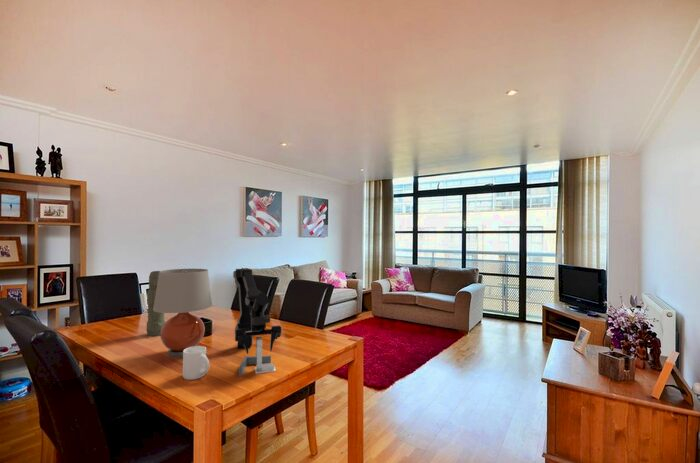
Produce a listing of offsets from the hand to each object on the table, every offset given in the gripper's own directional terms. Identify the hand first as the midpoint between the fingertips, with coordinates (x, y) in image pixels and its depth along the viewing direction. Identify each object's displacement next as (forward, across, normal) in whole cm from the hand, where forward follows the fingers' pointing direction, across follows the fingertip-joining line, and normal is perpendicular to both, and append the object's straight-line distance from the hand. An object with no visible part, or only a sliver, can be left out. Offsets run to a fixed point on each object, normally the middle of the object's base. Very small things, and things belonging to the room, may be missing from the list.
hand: (259, 352), depth 134 cm
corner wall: (+3, -1, +8) cm, 9 cm away
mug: (+4, -23, +8) cm, 25 cm away
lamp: (-18, -32, +30) cm, 47 cm away
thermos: (-44, -50, +56) cm, 86 cm away
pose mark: (+5, +2, +7) cm, 9 cm away
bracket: (+4, +3, +7) cm, 8 cm away
